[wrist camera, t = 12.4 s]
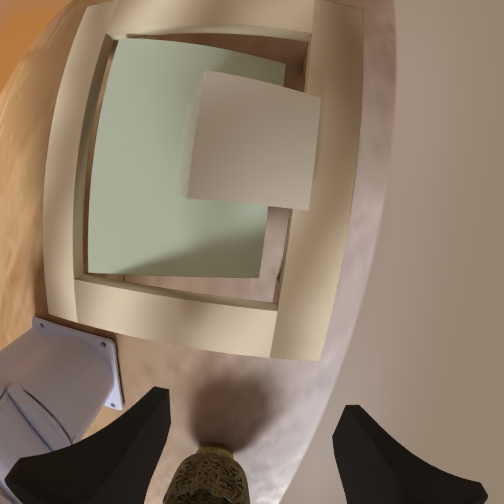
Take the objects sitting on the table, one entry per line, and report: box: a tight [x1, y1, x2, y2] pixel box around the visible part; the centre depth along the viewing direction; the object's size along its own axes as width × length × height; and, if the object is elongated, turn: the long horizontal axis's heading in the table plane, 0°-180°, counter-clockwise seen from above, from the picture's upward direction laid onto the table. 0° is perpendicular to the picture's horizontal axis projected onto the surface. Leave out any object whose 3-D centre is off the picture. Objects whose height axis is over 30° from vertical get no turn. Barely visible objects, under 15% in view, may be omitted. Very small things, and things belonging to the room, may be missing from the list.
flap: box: [88, 38, 286, 278], centre depth 14 cm, size 10×12×3 cm
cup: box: [163, 443, 250, 504], centre depth 20 cm, size 8×7×8 cm
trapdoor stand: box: [43, 0, 363, 361], centre depth 15 cm, size 15×18×7 cm
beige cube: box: [176, 70, 321, 211], centre depth 12 cm, size 4×4×4 cm
